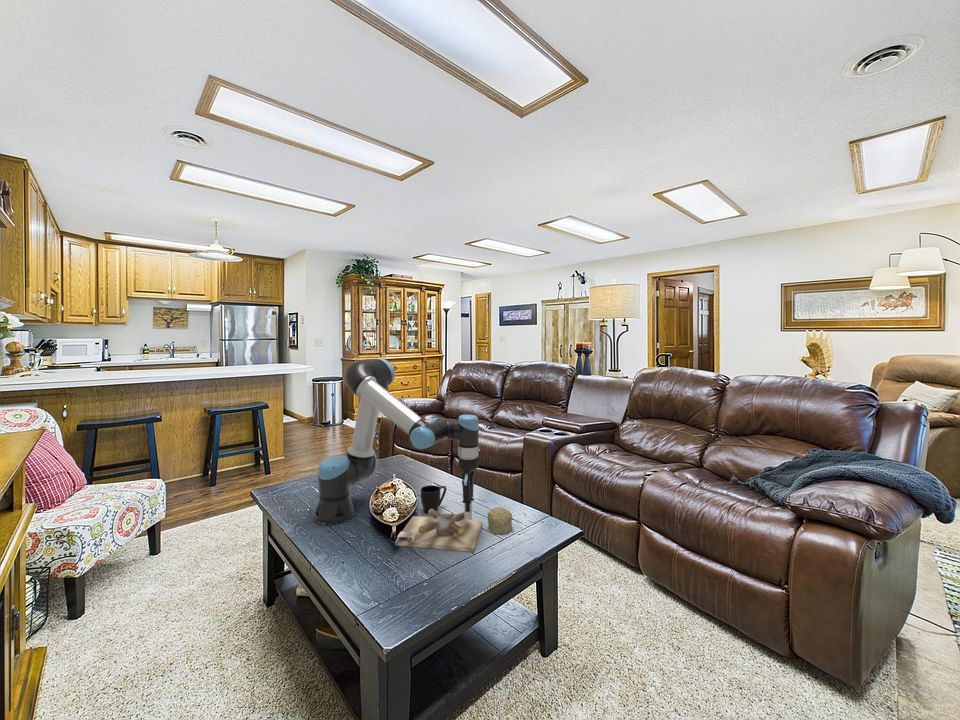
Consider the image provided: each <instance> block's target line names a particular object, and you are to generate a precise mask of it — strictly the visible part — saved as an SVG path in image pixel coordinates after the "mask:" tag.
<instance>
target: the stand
mask: <svg viewBox="0 0 960 720" xmlns="http://www.w3.org/2000/svg"><path fill="white" fill-rule="evenodd" d="M432 522H436V519H434V518H433V517H432V516H430V517H429V516H419V515H418V516H416V515H413V516H412V517H411V518H410V519H409V521H408V522H407V524H406V525H405V527H404V528H403V530H401V531H400V532H399V534H398V535H397V537H396V540H394V541H395V542H394V545H395V546H400V547H410V548H421V549H423V548H424V549H431V550H432V549H436V550H443V551H447V550H448V551H457V552H458V551H459V552H466V553H468V552H469V553H474V552H475V549H476V547H477V542H478V541H479V540H478V539H479V538H480V537H479V536H480V533H481V530H482V527H483V521H482V520H466V519H464V520H461V521H458V522H455V524H457V525H458V526H460V527H461V528H463V529H464V530H465V535H464V536H459V535H458V534H457V533H454V534H452V535H448V536H442V535H439V534H437V532H436V529H434V530H431V531H428V532H425V533H423V534H421V533H419V531H418V529H419V527H420V526H423V525H426V524H429V523H432Z"/></svg>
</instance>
